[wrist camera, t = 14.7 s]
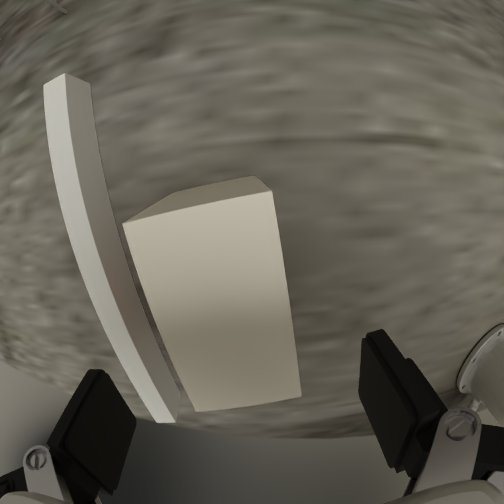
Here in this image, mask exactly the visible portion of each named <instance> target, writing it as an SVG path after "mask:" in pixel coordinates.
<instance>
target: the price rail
mask: <svg viewBox="0 0 504 504" xmlns="http://www.w3.org/2000/svg"><path fill="white" fill-rule="evenodd" d="M43 87H44V106H45V118H46V127H47V136H48V143H49V150H50V157H51V163H52V168H53V174H54V179H55V184H56V188H57V193H58V197H59V201H60V205H61V209H62V213H63V217H64V221H65V225H66V228H67V232H68V235H69V238H70V242H71V245H72V248H73V251H74V254H75V257H76V260H77V263H78V266H79V269H80V272H81V274H82V277H83V280H84V282H85V285H86V288H87V290H88V293H89V295H90V298H91V300H92V303H93V305H94V307H95V310H96V312H97V314H98V317H99V319H100V321H101V323H102V326H103V328H104V330H105V332H106V334H107V336H108V338H109V340H110V342H111V345H112V347H113V349H114V351H115V352H116V354H117V356H118V358H119V360H120V362H121V364H122V366H123V368H124V370H125V371H126V373H127V375H128V377H129V378H130V380H131V382H132V384H133V385H134V387H135V389H136V391H137V392H138V394H139V396H140V397H141V399H142V400H143V402H144V404H145V405H146V407H147V408H148V410H149V412H150V413H151V415H152V416H153V418H154V419H155V421H156V422H157V423H172V422H176V418H177V413H178V407H179V401H180V396H181V393H180V391H179V389H178V387H177V385H176V383H175V381H174V379H173V377H172V375H171V373H170V370H169V368H168V366H167V364H166V362H165V360H164V357H163V355H162V353H161V350H160V348H159V346H158V344H157V341H156V339H155V336H154V334H153V332H152V329H151V327H150V324H149V322H148V319H147V317H146V314H145V311H144V309H143V306H142V303H141V301H140V298H139V295H138V293H137V290H136V287H135V284H134V281H133V278H132V275H131V272H130V269H129V266H128V263H127V260H126V257H125V254H124V250H123V247H122V244H121V240H120V237H119V233H118V230H117V226H116V222H115V219H114V215H113V211H112V207H111V203H110V199H109V195H108V190H107V186H106V182H105V177H104V172H103V167H102V162H101V157H100V152H99V146H98V140H97V134H96V127H95V120H94V113H93V105H92V96H91V86H90V83H87V82H85V81H83V80H80V79H78V78H76V77H73V76H71V75H69V74H66V73H64V74H62V75H60V76H59V77H57V78H55V79H53V80H51V81H50V82H48V83H46V84H44V85H43Z"/></svg>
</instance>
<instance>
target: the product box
mask: <svg viewBox="0 0 504 504" xmlns="http://www.w3.org/2000/svg"><path fill="white" fill-rule="evenodd" d="M123 228H124V231H125V235H126V238H127V242H128V245H129V248H130V252H131V255H132V258H133V261H134V264H135V267H136V270H137V273H138V276H139V279H140V282H141V285H142V288H143V291H144V293H145V296H146V299H147V302H148V304H149V307H150V310H151V312H152V315H153V318H154V320H155V323H156V325H157V328H158V330H159V333H160V335H161V337H162V340H163V342H164V345H165V347H166V349H167V352H168V354H169V356H170V358H171V361H172V363H173V365H174V367H175V369H176V372H177V374H178V376H179V378H180V380H181V382H182V384H183V386H184V388H185V391H186V393H187V395H188V397H189V399H190V401H191V403H192V404H193V406H194V408H195V410H196V412H201V411H212V410H222V409H231V408H239V407H246V406H253V405H259V404H265V403H271V402H276V401H282V400H287V399H292V398H297V397H301V396H302V395H301V386H300V378H299V370H298V362H297V354H296V346H295V338H294V331H293V324H292V316H291V309H290V302H289V295H288V288H287V282H286V275H285V268H284V262H283V256H282V249H281V243H280V237H279V230H278V224H277V218H276V212H275V207H274V201H273V195H272V191H271V190H270V189H269V188H268V187H267V186H266V185H265V184H264V183H263V182H261V181H260V180H259V179H258V178H257V177H256V176H255V175H253V176H248V177H242V178H237V179H232V180H227V181H222V182H217V183H213V184H208V185H203V186H199V187H194V188H190V189H186V190H182V191H177V192H173V193H171V194H170V195H168V196H166V197H165V198H163V199H161V200H160V201H158V202H156V203H155V204H153V205H151V206H150V207H148V208H146V209H145V210H143V211H141V212H140V213H138V214H137V215H135V216H134V217H132V218H130V219H129V220H127V221H126V222H124V223H123Z"/></svg>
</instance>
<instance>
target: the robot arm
mask: <svg viewBox="0 0 504 504" xmlns="http://www.w3.org/2000/svg"><path fill="white" fill-rule="evenodd" d="M457 387H458V389H459V390H460V392H462V393H465V394H466V393H471V394H472V401H471V402H470V404H469V406H468V408H466V407H456V408H453V409H450V410H449V411H448V410H447V408H446V407H445V405H444V404H443V402H442V401H441V399H440V398H439V396H438V395H437V393H436V392H435V391H434V389H433V388H432V386H431V385H430V384H429V382H428V381H427V379H426V378H425V377H424V375H423V374H422V372H421V371H420V370H419V368H418V367H417V366H416V364H415V363H414V361H413V360H412V359H410V358H406V359H405V358H404V357H403V355H402V354H401V352H400V351H399V350H398V348H397V347H396V346H395V344H394V343H393V341H392V340H391V339H390V337H389V336H388V335H387V333H386V332H385V331H384V330H383V329H380V330H376V331H373V332H369V333H367V334H366V338H363V339H362V344H361V363H360V377H359V389H358V392H359V397H360V400H361V402H362V404H363V407H364V409H365V411H366V414H367V416H368V418H369V421H370V423H371V425H372V428H373V430H374V432H375V435H376V437H377V439H378V442H379V444H380V447H381V449H382V451H383V454H384V456H385V459H386V461H387V464H388V466H389V467H390V468H393V467H394V468H395V470H396V473H399V472H401V471H404V470H406V473H407V475H408V477H410V479H409V481H408V484H407V486H406V488H405V490H404V492H403V495H402V497H401V498H398V499H396V500H393V501H389V502H386V503H384V504H504V495H503V494H502V493H504V324H501V325H499V326H497V327H495V328H494V329H492V330H491V331H490V332H489V333H488V334H487V335H486V336H485V337H484V338H483V339H482V340H481V341H480V342H479V343H478V344H477V346H476V347H475V348H474V349H473V351H472V352H471V353H470V355H469V356H468V358H467V359H466V361H465V363H464V365H463V366H462V368H461V370H460V373H459V375H458V379H457ZM480 403H483V404H484V405H485V407H486V408H487V409H488V410H489V412H490V413H491V414H492V416H493V417H494V418H495V420H496V421H497V422H498V424H499V425H500V426H501V427H499V426H492V425H485V424H481V419H480V417H479V415H478V414H477V413H476V410H477V408H478V407H479V405H480ZM135 427H136V418H135V416H134V415H133V413H132V412H131V410H130V409H129V407H128V406H127V404H126V402H125V401H124V399H123V398H122V396H121V395H120V393H119V391H118V390H117V388H116V386H115V385H114V383H113V381H112V380H111V378H110V376H109V375H108V374H107V373H105V371H104V370H102V369H90V370H88V371H87V373H86V374H85V376H84V378H83V379H82V381H81V383H80V384H79V386H78V388H77V389H76V391H75V393H74V394H73V396H72V398H71V399H70V401H69V403H68V405H67V407H66V408H65V410H64V412H63V414H62V415H61V417H60V419H59V421H58V423H57V425H56V426H55V428H54V430H53V432H52V434H51V436H50V438H49V439H48V442H47V444H48V446H49V447H50V450H48V449H47V448H46V447H44V446H40V445H38V446H34V447H32V448H30V449H29V450H28V451H27V452H26V454H25V456H24V459H23V467H21V468H19V469H17V470H15V471H12V472H10V473H8V474H5V475H3V476H1V477H0V504H101V502H100V500H99V498H98V496H97V495H98V491H99V492H100V493H102V494H107V495H111V496H112V495H113V491H114V490H116V489H117V486H118V483H119V480H120V476H121V472H122V469H123V466H124V462H125V459H126V456H127V452H128V450H129V446H130V443H131V440H132V437H133V434H134V430H135Z"/></svg>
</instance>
